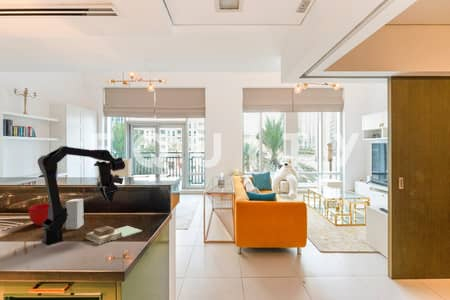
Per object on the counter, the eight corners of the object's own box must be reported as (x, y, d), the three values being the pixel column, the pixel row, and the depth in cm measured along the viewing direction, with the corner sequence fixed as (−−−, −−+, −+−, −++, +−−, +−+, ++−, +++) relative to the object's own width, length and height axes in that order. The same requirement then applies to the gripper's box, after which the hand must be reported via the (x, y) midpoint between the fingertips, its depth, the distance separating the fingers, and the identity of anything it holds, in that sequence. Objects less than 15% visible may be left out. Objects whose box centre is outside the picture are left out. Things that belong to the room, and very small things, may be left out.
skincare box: (77, 229, 134) (77, 201, 134) (65, 229, 134) (65, 201, 133) (83, 224, 143) (84, 198, 143) (72, 225, 142) (72, 198, 142)
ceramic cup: (67, 219, 153) (67, 202, 153) (44, 228, 136) (44, 209, 136) (47, 218, 155) (47, 201, 154) (22, 226, 138) (22, 208, 138)
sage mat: (123, 237, 124) (123, 236, 124) (108, 232, 131) (108, 231, 131) (142, 231, 133) (142, 230, 133) (127, 226, 140) (127, 225, 140)
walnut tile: (100, 236, 118) (100, 231, 118) (93, 233, 121) (93, 229, 121) (114, 232, 124) (114, 228, 124) (107, 229, 127) (107, 225, 127)
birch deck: (99, 244, 115) (99, 238, 114) (85, 238, 121) (85, 233, 121) (121, 237, 123) (121, 232, 123) (107, 232, 130) (107, 227, 130)
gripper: (126, 172, 134) (129, 201, 135) (115, 168, 148) (118, 194, 150) (103, 176, 127) (107, 206, 128) (94, 172, 141) (98, 199, 143)
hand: (108, 201), depth 138 cm, fingers open, 9 cm apart
